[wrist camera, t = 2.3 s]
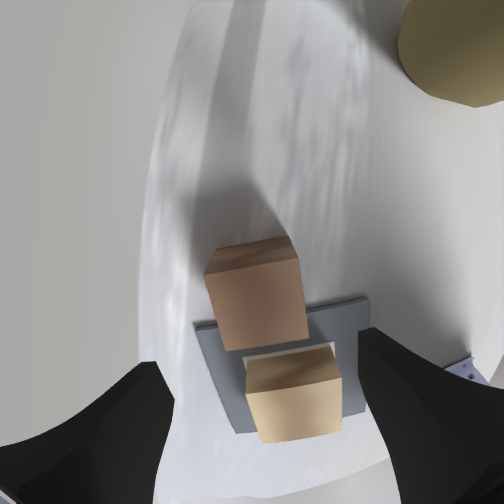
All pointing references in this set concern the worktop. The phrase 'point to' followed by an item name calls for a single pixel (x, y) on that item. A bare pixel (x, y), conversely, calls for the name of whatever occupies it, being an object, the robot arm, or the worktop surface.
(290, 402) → the oak block
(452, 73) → the squeeze bottle
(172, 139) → the worktop surface
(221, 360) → the mat
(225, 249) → the walnut block
